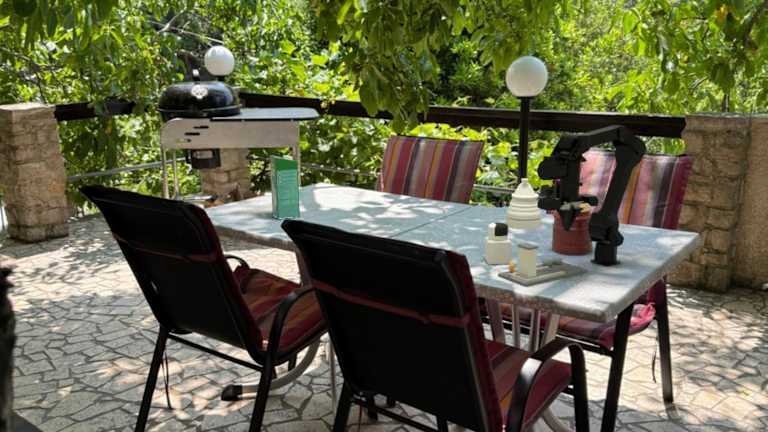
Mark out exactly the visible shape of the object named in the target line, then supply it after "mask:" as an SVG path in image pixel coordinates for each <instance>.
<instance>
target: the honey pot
mask: <svg viewBox="0 0 768 432" xmlns="http://www.w3.org/2000/svg"><path fill="white" fill-rule="evenodd" d="M520 180H521V183H519V184H518V186H517V187H516V189H515V191H514V192H513V193H512V194H511V201H510V202H509V206H508V208H507V210H506V220H505V221H506V223H505V224H507V225H508V228H509V229H514V230H525V231H526V230H528V231H529V230H537V229H540V228H541V227H542V221H543V220H542V219H543V218H542V216H543V215H542V211H541V208H537V204H538V200H539V199H538V198H539V197H540V195H539V193H537V192H535V190H534V189H533V186H532V185H531V183H529V178H521V179H520ZM536 228H537V229H536Z"/></svg>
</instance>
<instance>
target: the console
mask: <svg viewBox="0 0 768 432" xmlns="http://www.w3.org/2000/svg"><path fill="white" fill-rule="evenodd" d="M588 272H589V269H587V268H584V267H581V266H577V265H574V264H571V263H567V262H565V261H563V258H562V257H552V259H543V260H542V263H541V264H540V263H539V264H537V267H536V277H534V278H530V279H524V278H522V277H519V276H518V268H516V269H515V261H511V262H510V264H509V270H508V271H504V272H503V271H502V272H499V273H497V276H498V277H499V278H502V279H505V280H507V281H510V282H513V283H515V284H517V285H520V286H523V287H527V288H528V287H532V286H536V285H540V284H543V283H548V282H552V281H556V280H560V279H565V278H570V277H573V276H579V275H582V274H586V273H588Z"/></svg>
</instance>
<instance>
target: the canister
mask: <svg viewBox="0 0 768 432" xmlns="http://www.w3.org/2000/svg"><path fill="white" fill-rule="evenodd" d="M564 203H566V202H564ZM580 208H584V209H583V210H582V211H581V212H580V214H579V215H578V216H577V218H576V219H575V221H574V223H573V225H572V226H571V228H570V230H569V231H567V232H566V231H564V229H563V225H562V222H561V218H560V216H559V213H558V212H557V211H556V210H555V211H554V212H553V213H552V216H553V218H554V219H553V223H552V234H551V235H552V236H551V237H552V239H551V250H552V251H553V252H555V253H557V254H562V255H570V256H580V255H581V256H582V255H588V254H590V253H591V252H592V251H593V250H592V249H593V245H594V243H593V241H591V239H590V235H589V231H588V226H589V225H588V223H589V221H590V218H591V214H592V213H593V212H592V213H591V211H592V206H590V205H589V204H588V203H584V204H580Z"/></svg>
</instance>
